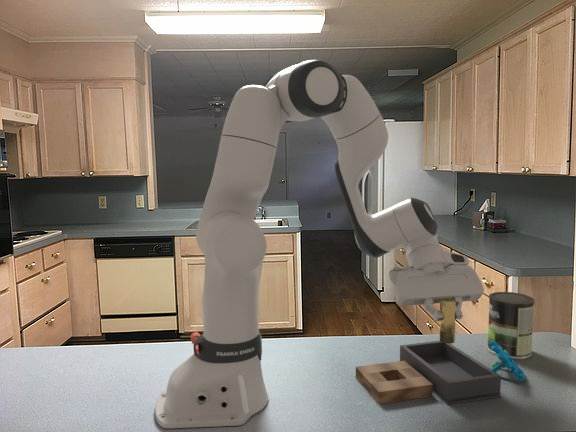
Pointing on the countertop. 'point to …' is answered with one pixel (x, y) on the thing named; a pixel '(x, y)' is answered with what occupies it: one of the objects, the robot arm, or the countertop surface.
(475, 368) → the tray
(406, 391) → the block
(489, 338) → the coffee can
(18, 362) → the countertop surface
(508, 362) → the blue notched toy part
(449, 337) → the pin
